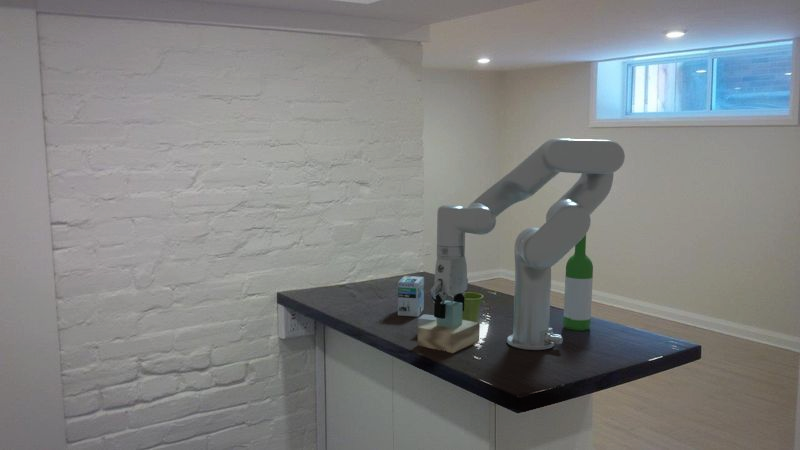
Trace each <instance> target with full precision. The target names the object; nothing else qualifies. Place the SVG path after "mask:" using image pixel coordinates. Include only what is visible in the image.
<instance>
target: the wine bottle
mask: <svg viewBox="0 0 800 450" xmlns="http://www.w3.org/2000/svg"><path fill="white" fill-rule="evenodd" d="M586 244H587V234H586V235H585V236H584V237H583V238H582V239H581V240H580V241H579V242H578V243H577V244H576V245H575V246H574V254H573V255H570V257H569V258H568V259H567V261H566V265H565V276H564V277H565V278H564V279H565V280H564V295H563V297H564V298H563V299H564V300H563V321H562V322H563V326H564V328H565V329H567V330H571V331H577V332H581V331H582V332H583V331H588V330H589V329H590V328H591V321H592V320H591V318H592V303H593V301H592V300H593V299H592V298H593V278H594V277H593V276H594V275H593V274H594V264H593V262H592V260H591V258H590V257H589V256H588V255H587V254H586V252H587V251H586V248H587V245H586Z"/></svg>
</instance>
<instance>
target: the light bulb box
mask: <svg viewBox="0 0 800 450" xmlns="http://www.w3.org/2000/svg"><path fill="white" fill-rule="evenodd" d="M424 295H425V277H424V276H415V275H414V276H411V275H404V276H403V277H401V278H400V280H398V281H397V316H400V317H401V316H403V317H418V318H419V316H420V315H421V314H422V312H423V311H424V308H425V307H424V306H425V305H424V303H425V299H424V298H425V296H424Z"/></svg>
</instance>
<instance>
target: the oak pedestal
mask: <svg viewBox="0 0 800 450" xmlns="http://www.w3.org/2000/svg"><path fill="white" fill-rule="evenodd" d="M480 324H481V323H480V322H472V321H467V320H462V325H460V326H458V327H455V328H453V329H452V328H447V327H442V326H437V320H435V321H433V322H430V323H427V324H425V325H422V326H420V327H418V326H417V346H419V347H423V348H427V349H432V350H436V349H437V351H441V350H442V351H441V352H445V351H446V353H450V354H454V353H456V352H458V351H460V350H463V349H464V348H467V347H469V346H471V345H473V344H475V343H478V342H480V331H481V330H480Z"/></svg>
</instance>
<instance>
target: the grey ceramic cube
mask: <svg viewBox="0 0 800 450" xmlns="http://www.w3.org/2000/svg"><path fill="white" fill-rule="evenodd" d="M435 320H437V318H436V317H434V314H424V313H423V314H422V315H421V316H420V317H419V316H418V318H417V328H418V327H420V326H422V325H425V324H427V323H430V322H433V321H435Z"/></svg>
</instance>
